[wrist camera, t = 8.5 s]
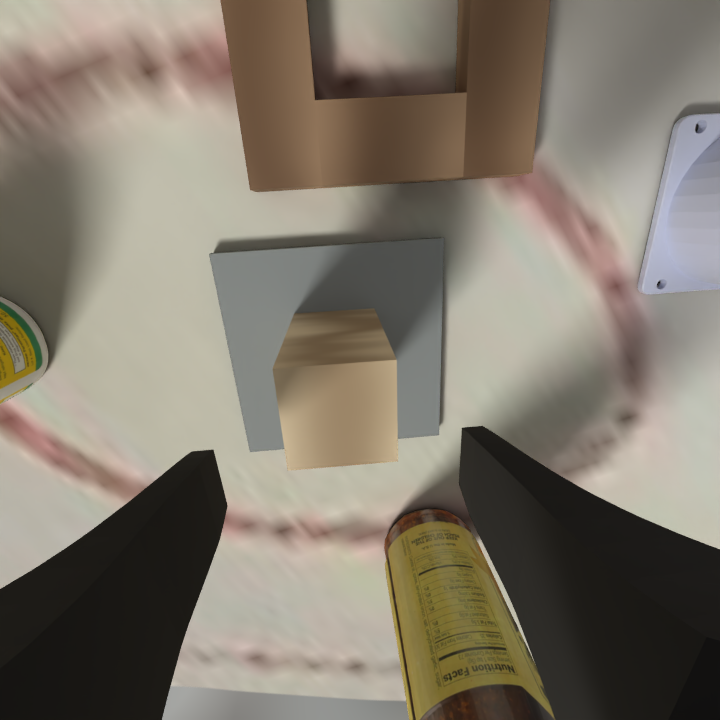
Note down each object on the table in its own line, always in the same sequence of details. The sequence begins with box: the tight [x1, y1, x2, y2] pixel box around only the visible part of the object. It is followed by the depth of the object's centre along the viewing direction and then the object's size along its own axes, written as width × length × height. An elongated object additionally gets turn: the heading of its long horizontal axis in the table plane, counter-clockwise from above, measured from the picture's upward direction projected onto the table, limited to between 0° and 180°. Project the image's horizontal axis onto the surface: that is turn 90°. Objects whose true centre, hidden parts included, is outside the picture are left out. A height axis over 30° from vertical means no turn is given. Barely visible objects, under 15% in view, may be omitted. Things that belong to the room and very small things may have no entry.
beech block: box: [272, 308, 398, 471], centre depth 16 cm, size 4×4×7 cm
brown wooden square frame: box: [221, 0, 550, 192], centre depth 14 cm, size 12×12×2 cm
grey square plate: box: [209, 237, 444, 452], centre depth 19 cm, size 11×11×1 cm
